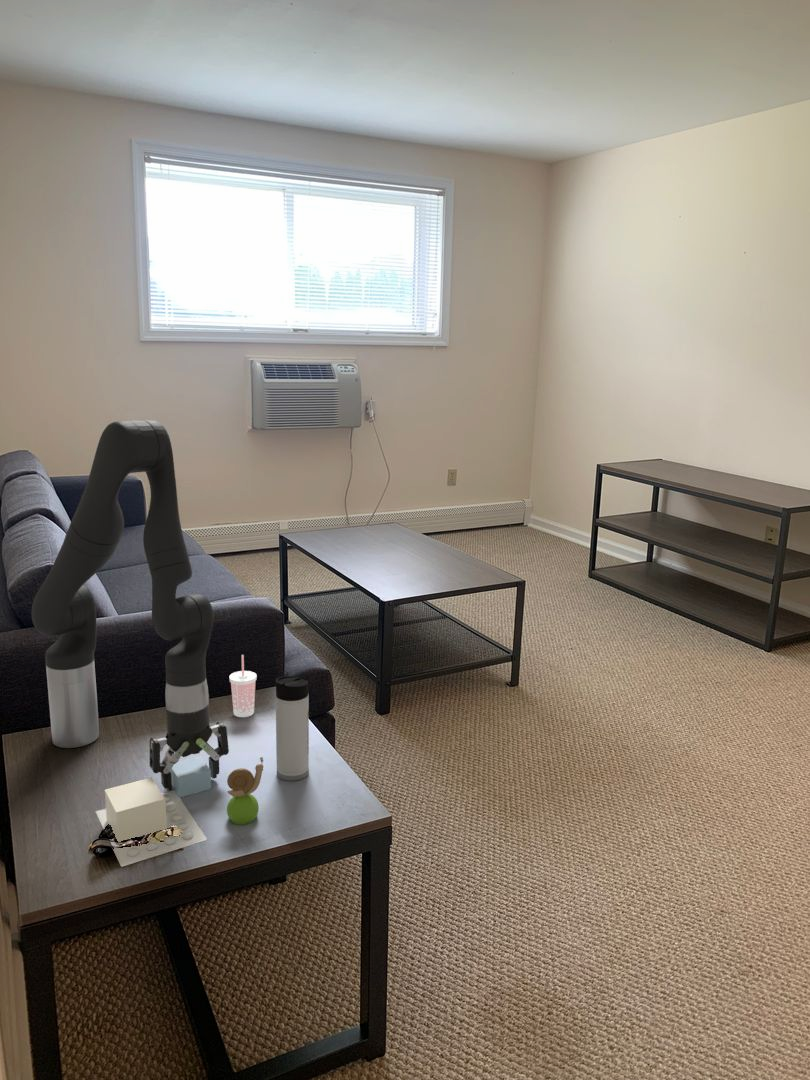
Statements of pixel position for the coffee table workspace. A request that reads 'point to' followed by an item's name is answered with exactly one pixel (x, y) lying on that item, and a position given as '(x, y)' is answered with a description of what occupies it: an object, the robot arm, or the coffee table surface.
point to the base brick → (135, 809)
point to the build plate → (174, 816)
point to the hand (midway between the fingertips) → (191, 782)
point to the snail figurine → (243, 794)
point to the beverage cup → (243, 691)
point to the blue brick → (190, 776)
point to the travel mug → (292, 728)
